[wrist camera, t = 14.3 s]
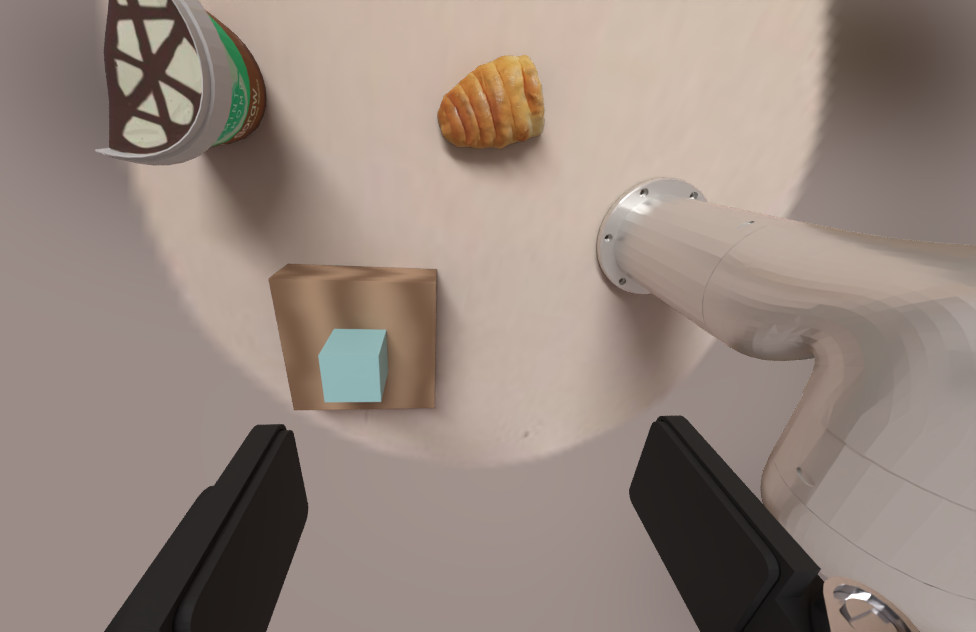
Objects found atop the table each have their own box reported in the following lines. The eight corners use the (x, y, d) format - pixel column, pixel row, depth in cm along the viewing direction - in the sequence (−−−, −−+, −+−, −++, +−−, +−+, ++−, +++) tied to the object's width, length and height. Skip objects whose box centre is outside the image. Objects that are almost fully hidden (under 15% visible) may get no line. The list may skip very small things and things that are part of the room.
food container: (269, 183, 33) (204, 197, 24) (193, 156, 31) (94, 159, 22) (293, 31, 29) (225, -22, 20) (206, -10, 27) (89, -88, 18)
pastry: (452, 165, 34) (453, 166, 31) (426, 86, 31) (424, 78, 28) (544, 132, 34) (556, 131, 31) (527, 50, 31) (537, 37, 28)
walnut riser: (436, 269, 38) (436, 283, 34) (435, 384, 45) (434, 407, 41) (287, 264, 36) (268, 278, 32) (308, 385, 43) (294, 410, 39)
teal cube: (386, 329, 36) (378, 356, 31) (388, 371, 38) (381, 401, 33) (334, 328, 35) (318, 355, 31) (338, 371, 37) (324, 402, 33)
